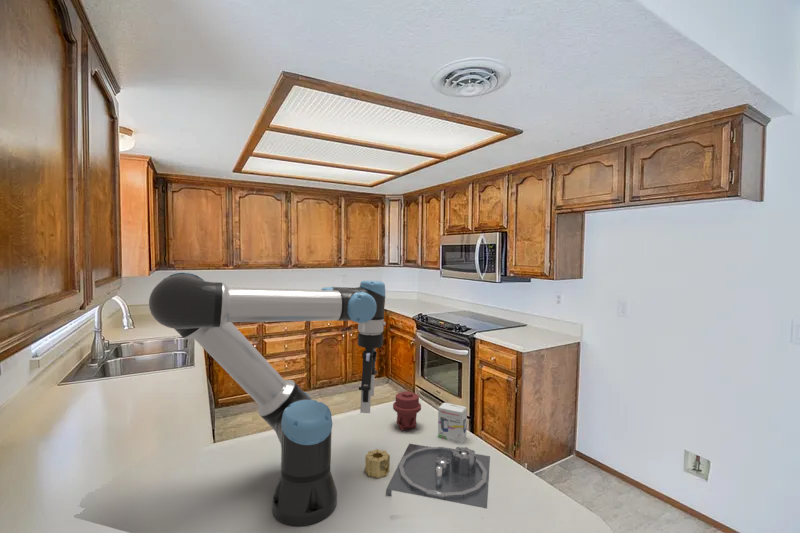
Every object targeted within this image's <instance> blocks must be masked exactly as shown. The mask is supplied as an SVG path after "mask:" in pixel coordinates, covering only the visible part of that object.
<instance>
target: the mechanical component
mask: <svg viewBox="0 0 800 533" xmlns="http://www.w3.org/2000/svg"><path fill="white" fill-rule="evenodd" d="M392 409H393V411H395V412H396V415H397V416H396V424H397V426H399V430H400V431H406V430H409V429H413V430H414V429H416V428H417V415H418V414H417V413H420V411H421V410H422V404H421V403H420V396H419V394H417V393H416V392H412V391H409V390H405V391H401V392H398V393H397V394H396V395H395V401H394V402H393V403H392Z"/></svg>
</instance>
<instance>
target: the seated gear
mask: <svg viewBox="0 0 800 533" xmlns="http://www.w3.org/2000/svg"><path fill="white" fill-rule="evenodd" d="M453 449H454V450H452V460H451V467H452V470H453V471H455V472H457V473H459V475H471V474H472V473H473V472H476V455H475V454H476V451H475V450H474V449H470V448H469V447H466V446H465V447H460V446H457V447H455V448H453ZM463 451H464V452H466V453H467V455H461V452H463Z"/></svg>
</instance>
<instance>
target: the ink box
mask: <svg viewBox="0 0 800 533" xmlns="http://www.w3.org/2000/svg"><path fill="white" fill-rule="evenodd" d="M437 408H438V409H437V410H438V412H437V418H438V420H437V423H438V425H437V426H438V428H437V430H438V431H437V434H438V435H437V436H438V438H439V439H442V440H446V441H449V442H454V443H458V444H461V445H462V444H464V442H465V441H466V440H467V427H468V426H467V423H468V414H467V413H468V408H467V407H466V406H463V405H460V404H454V403H449V402H443V403H441V404H440V406H438V407H437Z"/></svg>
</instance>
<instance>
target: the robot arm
mask: <svg viewBox="0 0 800 533" xmlns="http://www.w3.org/2000/svg"><path fill="white" fill-rule="evenodd" d="M385 305H386V284H385V283H384V282H383V281H380V280H379V281H378V280H362V281H360V284H359V286H357V287H343V286H342V287H341V286H331V287H330V286H328V287H327V286H326V287H322V288H321V289H291V288H289V289H288V288H287V289H286V288H262V287H261V288H260V287H259V288H258V287H257V288H254V287H229V286H228V285H227V284H225V283H224V282H215V281H214V282H213V281H205V280H204V279H203V278H202V277H200V276H199V275H196V274H194V273H191V272H177V273H172V274H170V275H169V276H167V277H165V278H163V279H162V280H161V281H159V283H158V284H156V286H154V288H153V289H152V290H151V293H150V296H149V298H148V307H149V311H150V314H151V315H152V317H153V319H154V320H155V321H156V322H157V323H159V324H160V325H162V326H164V327H167V328H169V329H174V331H175V332H177V334H179V335H180V336H181V337H182V338H183V339H185V340H187V339H188V340H189V339H190V340H192V339H193V340H195V341H196V342H197V343H198V344H199V345H200V346H201V347H202V349H204V350H205V352H207V354H208V355H209V356H211V358H213V360H214V361H215V362H216V363H217V364H218V365H219V366H220V367H221V368H222V369H223V371H225V372H226V373H227V374H228V375H229V376H230V377H231V378H232V380H234V381H235V382H236V383H237V385H239V387H240V388H241V389H243V390H244V391H245V393H246V394H248V395H249V396H250V398H251V399H252V400H253V401H255V402H256V404H257V405H258V407H257V408H258V410H257V413H258V415H259V416H260V417H261V418H262V419H263V420H264V421H265V422H266V424H268V425H269V426H270V427H271V428H272V430H273V431H274V432H275V433H276V435H277V439H278V441H279V443H280V448H281V453H280V454H281V455H280V456H281V457H280V458H281V459H280V460H281V462H280V477H279V479H278V482H277V485H276V489H275V491H274V493H273V497H272V509H271V510H272V514H273V516H274V518H275V519H276V520H277V521H279V522H280V523H283V524H284V525H288V526H308V525H312V524H316V523H318V522H321V521H324V519H326V518H328V517H329V516H330V515H331V514H332V513H333V512H334V510H335V509H336V506H337V503H338V492H337V491H338V490H337V487H336V484H335V480H334V477H333V473H332V471H331V467H332V466H331V463H332V462H331V461H332V459H331V457H332V435H333V434H332V431H333V430H332V429H333V419H332V411H331V409H330V408H329V406H328V405H327V404H326V403H324V402H322V401H318V400H316V399H312V398H311V397H310V395H309V394H308V393H307V392H305V391H304V390H302V388H301V387H300V386H299V385H298V384H297V383H296V381H294V380H293V379H284V378H283V376H282V375H280V373H279V372H278V371H277V370H276V369H275V368H274V366H272V364H271V363H270V362H268V360H267V359H266V358H265V357H264V356H263V355H262V354H261V353H260V352H259V350H257V348H256V347H255V346H254V345H253V344H252V343H251V342H250V341H249V339H248V338H246V337H245V335H244V334H243V333H242V332H241V331H240V330H239V329H238V328H237V326H236V325H235V324H234V323H238V322H239V323H243V322H244V323H249V322H250V323H253V322H255V323H256V322H257V323H258V322H262V323H265V322H268V323H269V322H315V321H316V322H317V321H319V322H321V321H322V322H323V321H324V322H326V321H331V322H332V321H339V322H343V321H344V322H346V321H351V322H354V323H357V324H358V325H357V327H358V328H357V331H358V332H359V333H357V346H358V347H360V348H364V349H365V350H363V353H362V364H361V365H362V370H361V372H362V373H361V383H360V385H361V386H359V387H358V390H359V391H360V406H359V407H360V410H359V411H360V414H371V403H372V402H371V401H372V400H371V398H372V397H374V395H375V382H376V381H375V379H376V378H375V377H376V375H377V374H378V370H376V368H377V367H376V361H377V353H378V352H377V351H376V349H378V348H382V347H383V345H384V334H383V332H384V326H386V325H387V324H386V321H385V320H384V319H385Z"/></svg>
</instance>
